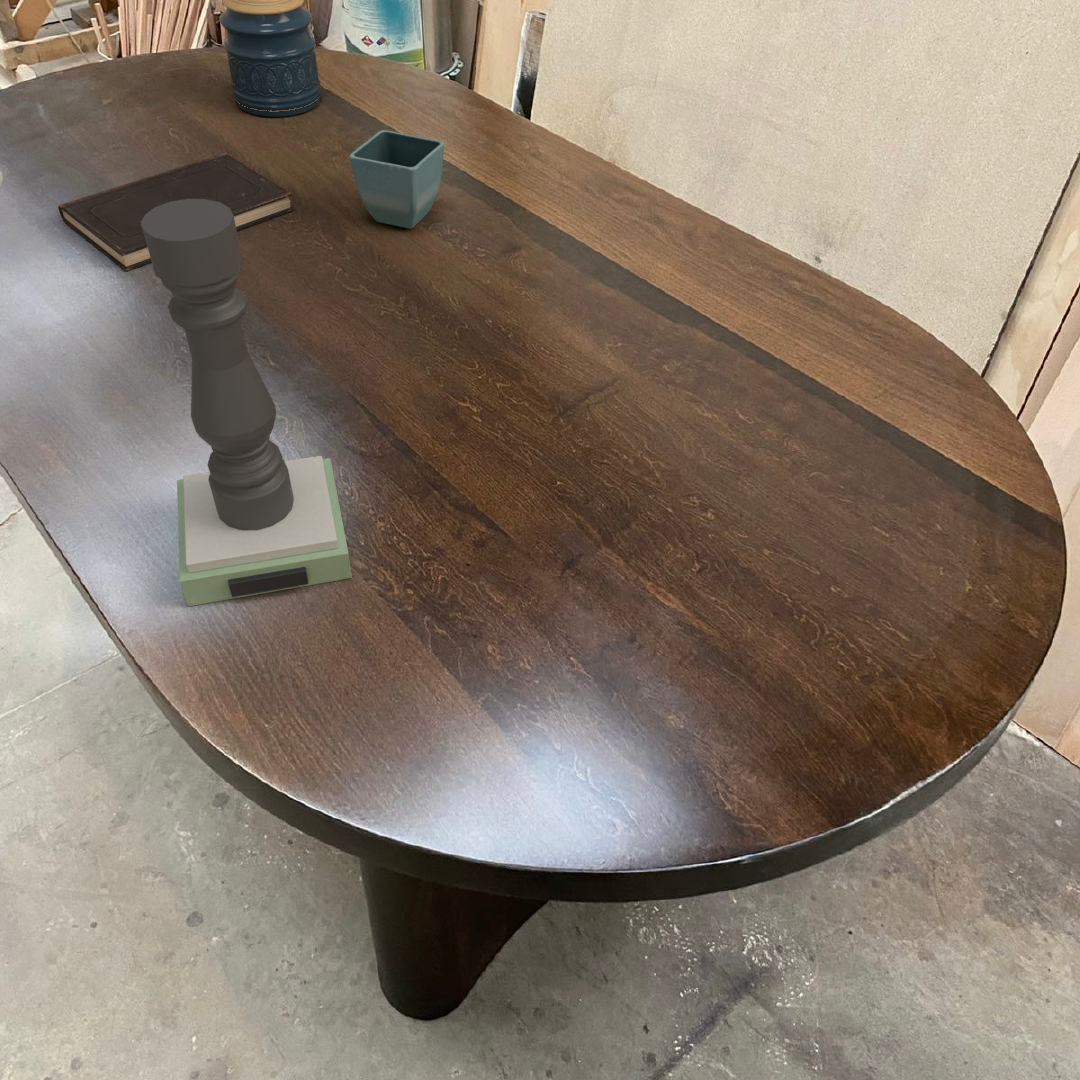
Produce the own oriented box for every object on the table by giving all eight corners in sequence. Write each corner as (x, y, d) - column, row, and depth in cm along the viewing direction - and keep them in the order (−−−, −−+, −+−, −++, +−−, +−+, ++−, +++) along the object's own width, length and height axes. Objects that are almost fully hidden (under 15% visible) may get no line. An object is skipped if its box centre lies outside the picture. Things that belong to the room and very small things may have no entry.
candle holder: (279, 535, 77) (215, 248, 59) (204, 525, 77) (119, 237, 59) (304, 484, 81) (251, 202, 63) (233, 474, 81) (161, 192, 64)
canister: (304, 79, 153) (288, -47, 140) (335, 109, 145) (320, -21, 132) (223, 93, 148) (199, -37, 135) (250, 124, 140) (227, -10, 127)
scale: (188, 611, 76) (176, 577, 73) (184, 505, 84) (174, 471, 82) (353, 582, 79) (347, 548, 76) (334, 482, 87) (328, 448, 84)
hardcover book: (294, 210, 122) (291, 193, 121) (126, 271, 111) (120, 253, 109) (226, 167, 130) (222, 151, 129) (62, 221, 118) (56, 203, 117)
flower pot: (386, 196, 126) (381, 127, 120) (448, 209, 124) (446, 140, 118) (354, 226, 120) (347, 155, 114) (418, 240, 118) (414, 169, 112)
